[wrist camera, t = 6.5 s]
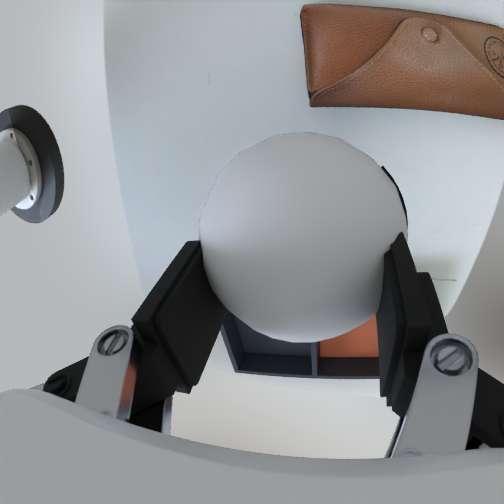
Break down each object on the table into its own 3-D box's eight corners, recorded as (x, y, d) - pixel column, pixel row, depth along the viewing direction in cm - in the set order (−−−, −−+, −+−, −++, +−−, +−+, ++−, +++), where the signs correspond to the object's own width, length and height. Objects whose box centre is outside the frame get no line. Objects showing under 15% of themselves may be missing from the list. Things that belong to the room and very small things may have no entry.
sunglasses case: (508, 24, 12) (552, 66, 9) (495, 87, 18) (527, 136, 15) (292, 4, 17) (291, 35, 14) (308, 76, 23) (309, 124, 20)
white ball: (212, 228, 16) (149, 335, 10) (261, 90, 11) (194, 118, 6) (380, 299, 16) (391, 417, 10) (458, 191, 12) (533, 295, 6)
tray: (242, 351, 39) (234, 372, 36) (218, 270, 33) (207, 292, 30) (394, 354, 34) (396, 378, 31) (412, 269, 27) (419, 293, 24)
